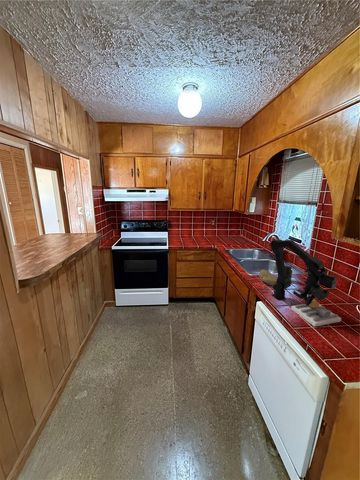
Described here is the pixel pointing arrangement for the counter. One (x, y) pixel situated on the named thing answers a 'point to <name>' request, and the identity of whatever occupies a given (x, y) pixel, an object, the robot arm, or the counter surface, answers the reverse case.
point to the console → (315, 315)
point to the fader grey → (322, 311)
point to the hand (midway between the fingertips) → (307, 305)
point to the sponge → (268, 277)
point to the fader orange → (314, 304)
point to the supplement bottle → (288, 270)
